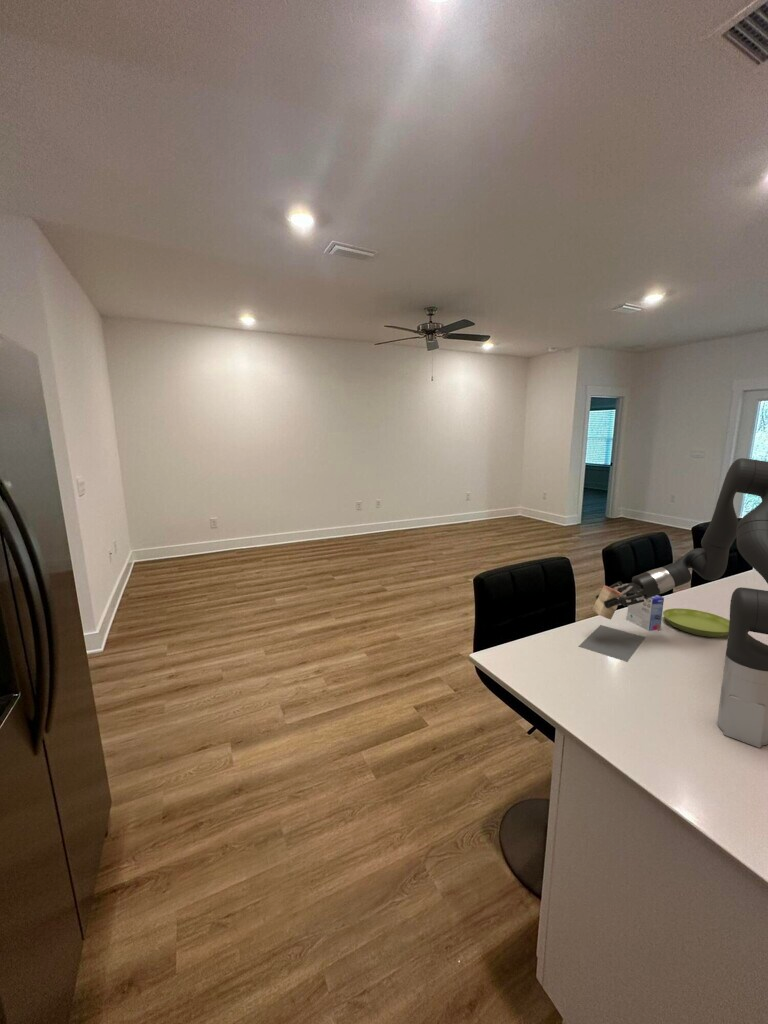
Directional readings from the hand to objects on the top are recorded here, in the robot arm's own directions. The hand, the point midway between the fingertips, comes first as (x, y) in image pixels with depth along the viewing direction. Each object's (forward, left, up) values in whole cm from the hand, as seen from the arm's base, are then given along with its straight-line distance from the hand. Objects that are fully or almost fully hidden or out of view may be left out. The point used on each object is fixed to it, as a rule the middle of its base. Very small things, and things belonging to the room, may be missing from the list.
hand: (601, 602), depth 132 cm
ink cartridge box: (+26, -7, -15) cm, 30 cm away
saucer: (+38, -21, -15) cm, 46 cm away
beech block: (0, 0, -4) cm, 4 cm away
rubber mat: (+4, -3, -14) cm, 15 cm away
